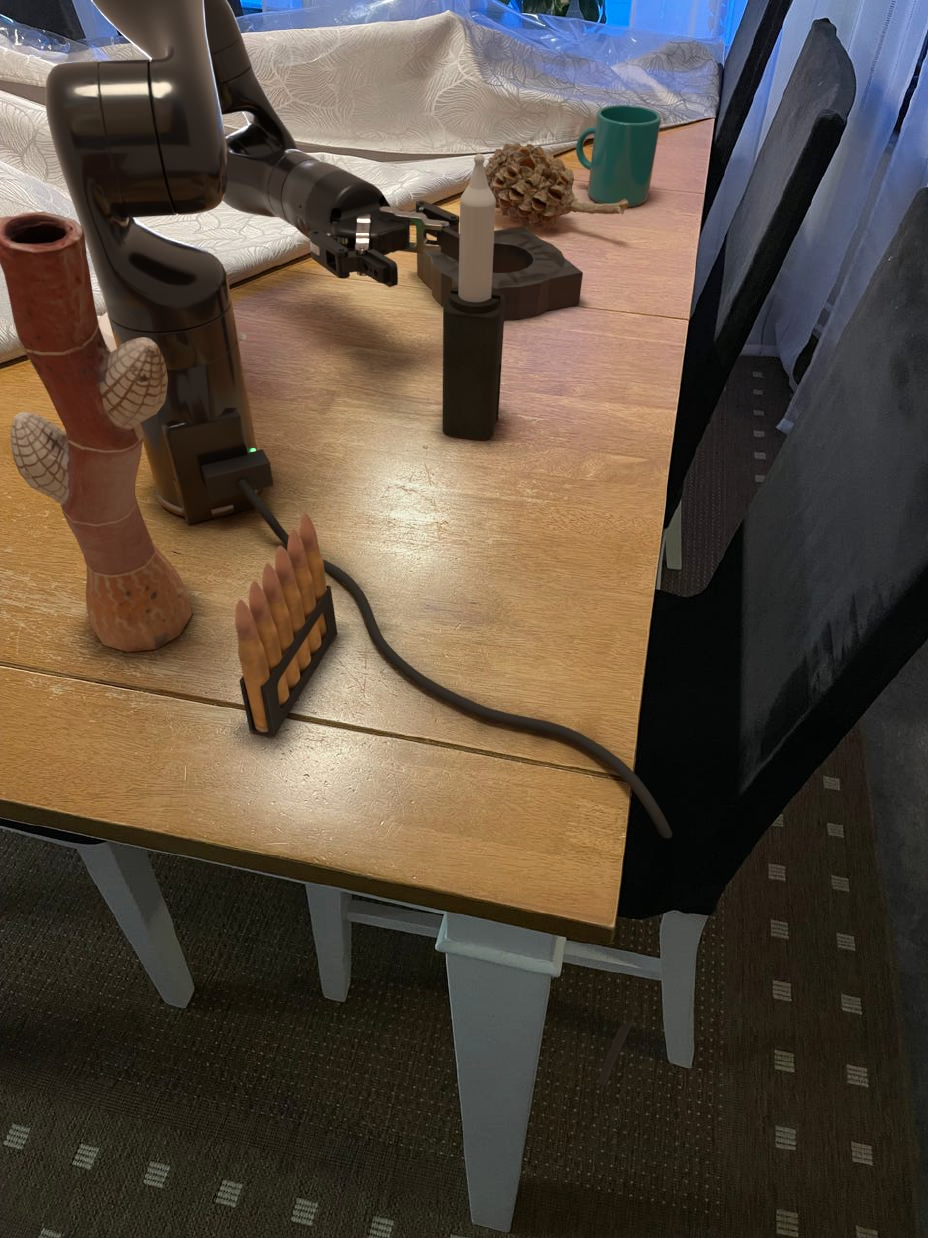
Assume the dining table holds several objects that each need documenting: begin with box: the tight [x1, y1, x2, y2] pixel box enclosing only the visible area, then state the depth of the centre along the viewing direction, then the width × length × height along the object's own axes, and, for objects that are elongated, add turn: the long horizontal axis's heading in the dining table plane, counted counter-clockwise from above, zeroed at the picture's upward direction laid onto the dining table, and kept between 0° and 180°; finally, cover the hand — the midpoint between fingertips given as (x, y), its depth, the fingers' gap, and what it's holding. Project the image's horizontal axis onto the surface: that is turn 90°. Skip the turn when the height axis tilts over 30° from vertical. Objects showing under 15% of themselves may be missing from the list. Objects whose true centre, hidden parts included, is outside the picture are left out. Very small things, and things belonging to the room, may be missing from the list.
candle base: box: [416, 225, 584, 321], centre depth 107 cm, size 16×16×4 cm
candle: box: [441, 153, 505, 441], centre depth 78 cm, size 5×5×25 cm
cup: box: [575, 104, 662, 208], centre depth 128 cm, size 9×12×11 cm
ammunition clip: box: [234, 512, 338, 738], centre depth 59 cm, size 11×2×12 cm, turn 162°
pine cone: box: [484, 142, 629, 230], centre depth 119 cm, size 22×10×10 cm, turn 65°
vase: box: [0, 211, 193, 653], centre depth 56 cm, size 11×7×30 cm
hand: (432, 263), depth 81 cm, fingers open, 8 cm apart
